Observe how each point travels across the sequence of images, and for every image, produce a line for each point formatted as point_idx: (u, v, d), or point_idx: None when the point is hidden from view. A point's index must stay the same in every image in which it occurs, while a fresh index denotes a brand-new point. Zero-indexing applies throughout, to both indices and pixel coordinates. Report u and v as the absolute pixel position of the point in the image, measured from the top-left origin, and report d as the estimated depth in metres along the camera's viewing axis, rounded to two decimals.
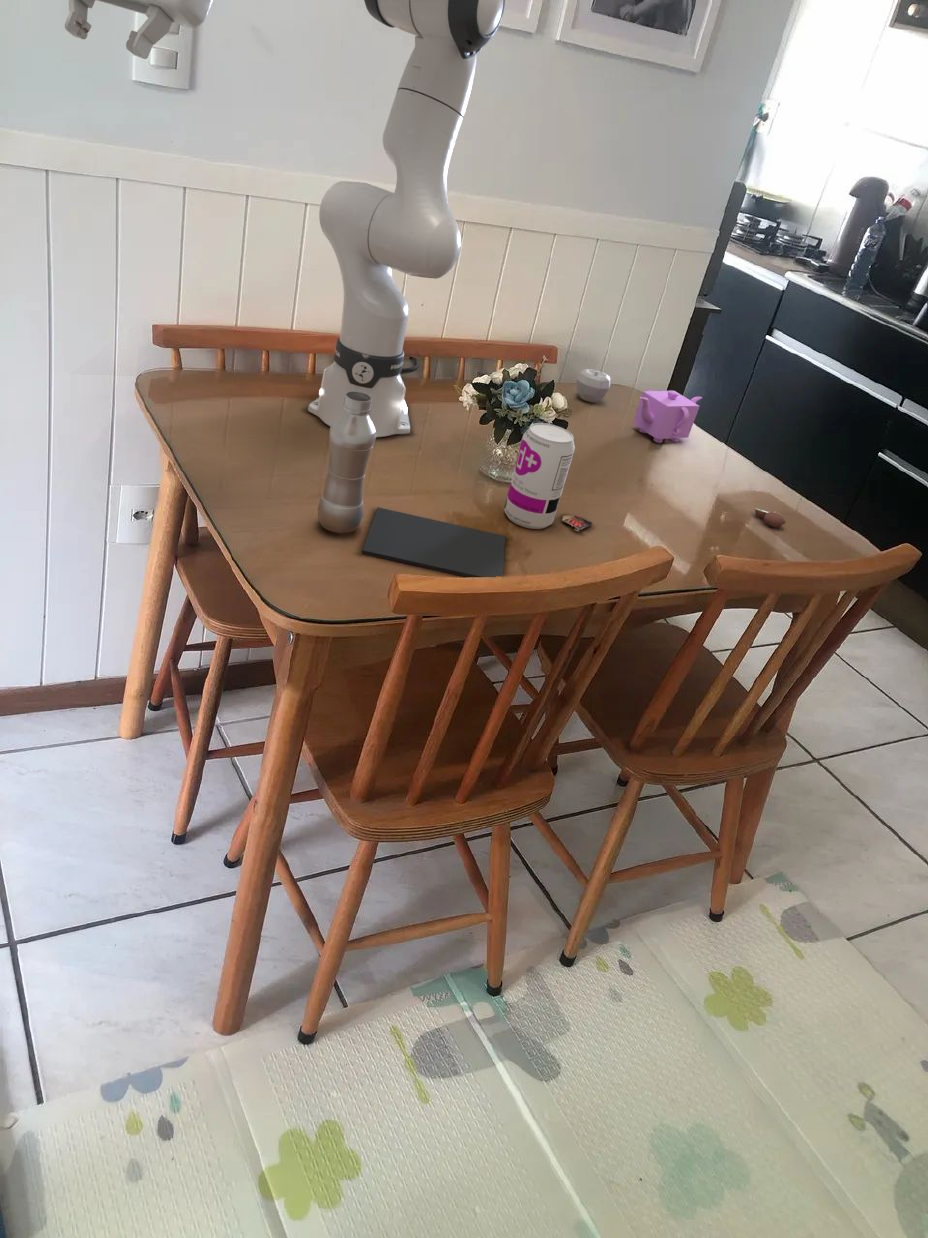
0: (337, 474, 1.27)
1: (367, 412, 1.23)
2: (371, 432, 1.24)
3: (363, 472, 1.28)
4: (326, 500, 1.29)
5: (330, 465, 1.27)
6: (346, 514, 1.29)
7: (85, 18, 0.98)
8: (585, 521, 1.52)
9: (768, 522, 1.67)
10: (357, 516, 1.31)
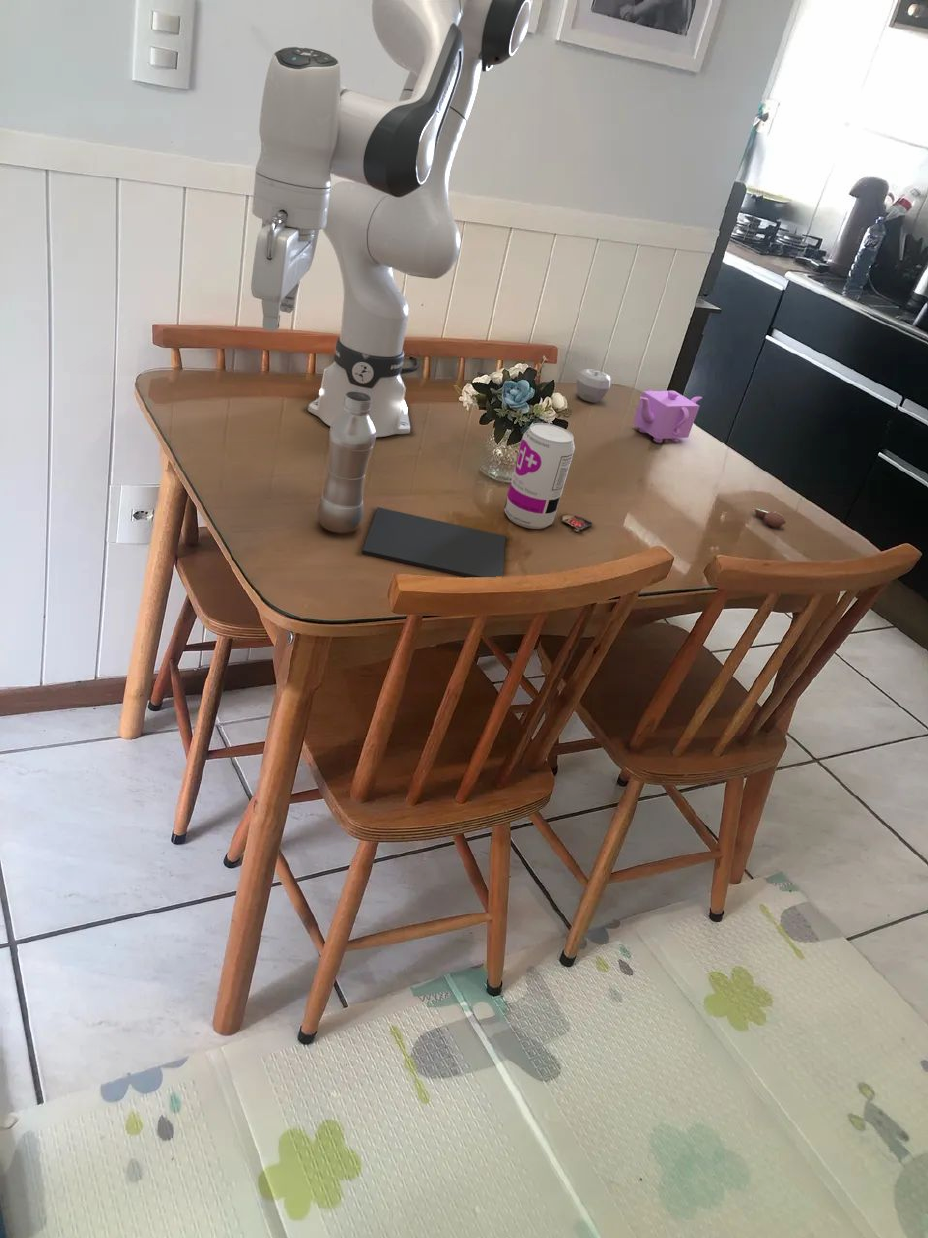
0: (337, 474, 1.27)
1: (367, 412, 1.23)
2: (371, 432, 1.24)
3: (363, 472, 1.28)
4: (326, 500, 1.29)
5: (330, 465, 1.27)
6: (346, 514, 1.29)
7: (293, 294, 1.21)
8: (585, 521, 1.52)
9: (768, 522, 1.67)
10: (357, 516, 1.31)
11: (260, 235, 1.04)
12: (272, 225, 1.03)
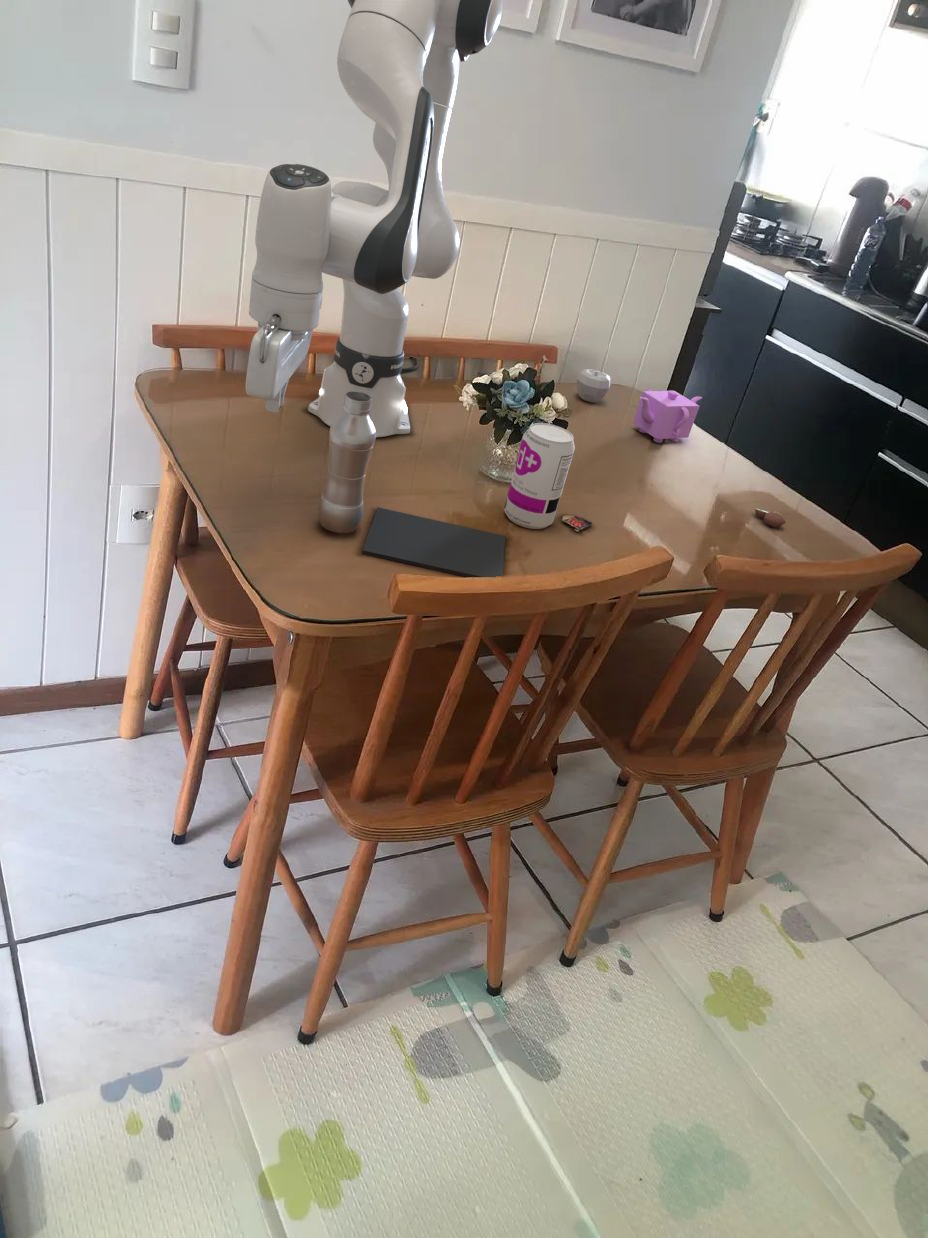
0: (337, 474, 1.27)
1: (367, 412, 1.23)
2: (371, 432, 1.24)
3: (363, 472, 1.28)
4: (326, 500, 1.29)
5: (330, 465, 1.27)
6: (346, 514, 1.29)
7: (282, 391, 1.24)
8: (585, 521, 1.52)
9: (768, 522, 1.67)
10: (357, 516, 1.31)
11: (254, 340, 1.11)
12: (265, 332, 1.09)
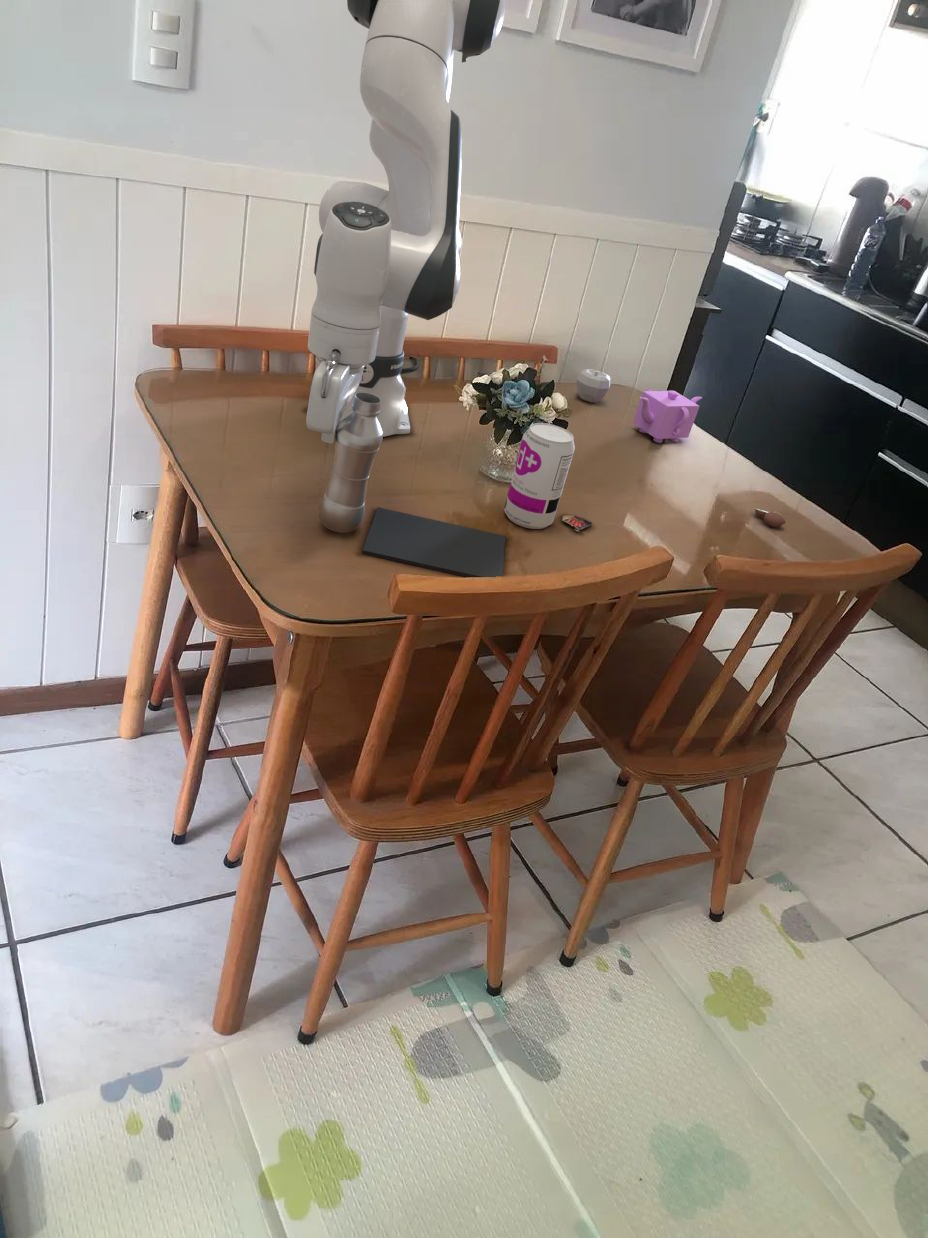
0: (342, 473, 1.26)
1: (376, 414, 1.23)
2: (378, 434, 1.24)
3: (367, 473, 1.28)
4: (328, 499, 1.29)
5: (335, 464, 1.27)
6: (347, 514, 1.29)
7: (337, 422, 1.26)
8: (585, 521, 1.52)
9: (768, 522, 1.67)
10: (358, 517, 1.31)
11: (315, 376, 1.13)
12: (327, 369, 1.11)
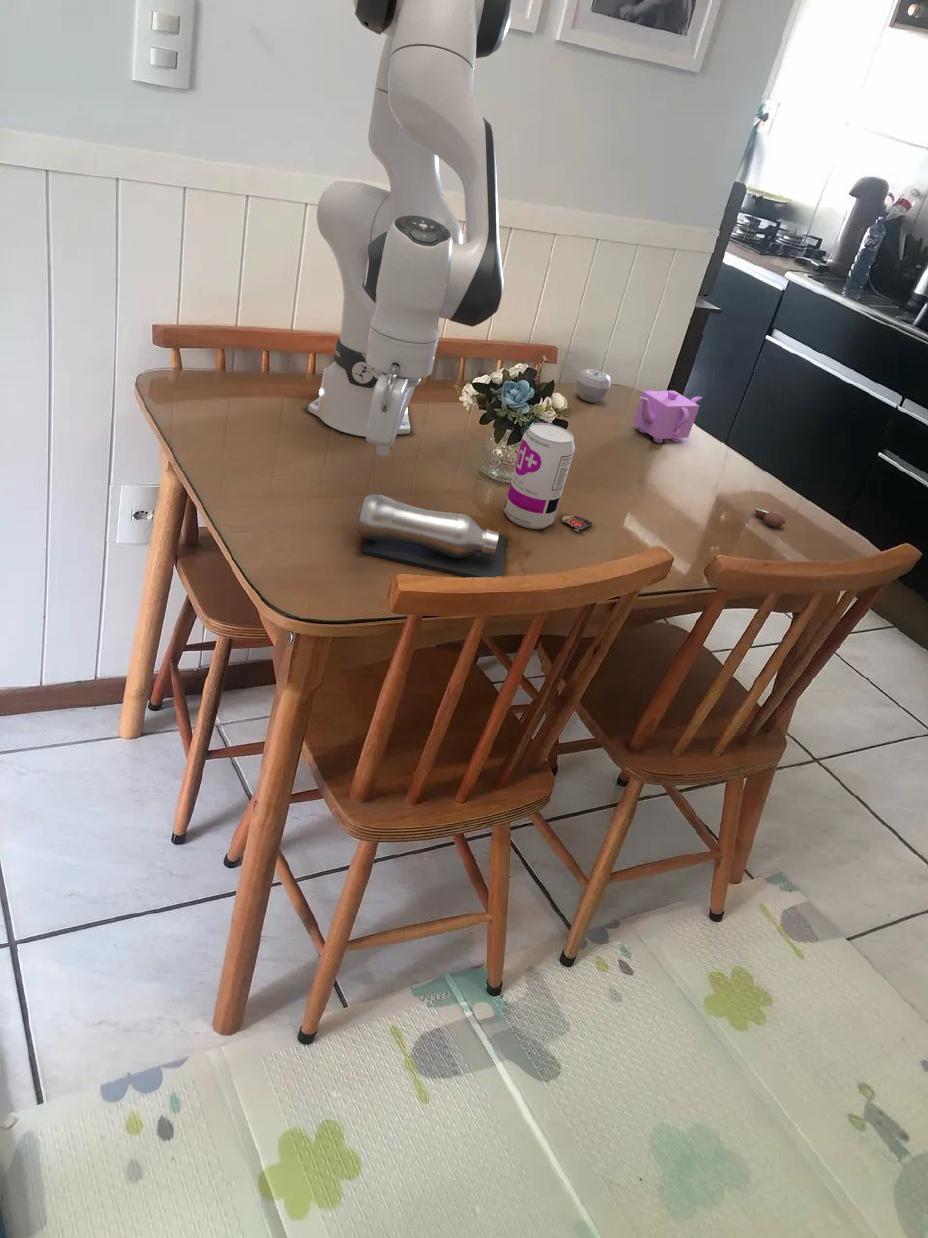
0: (420, 538, 1.29)
1: None
2: None
3: None
4: (389, 524, 1.28)
5: (427, 530, 1.28)
6: (379, 539, 1.30)
7: None
8: (585, 521, 1.52)
9: (768, 522, 1.67)
10: None
11: (376, 390, 1.13)
12: (388, 382, 1.11)
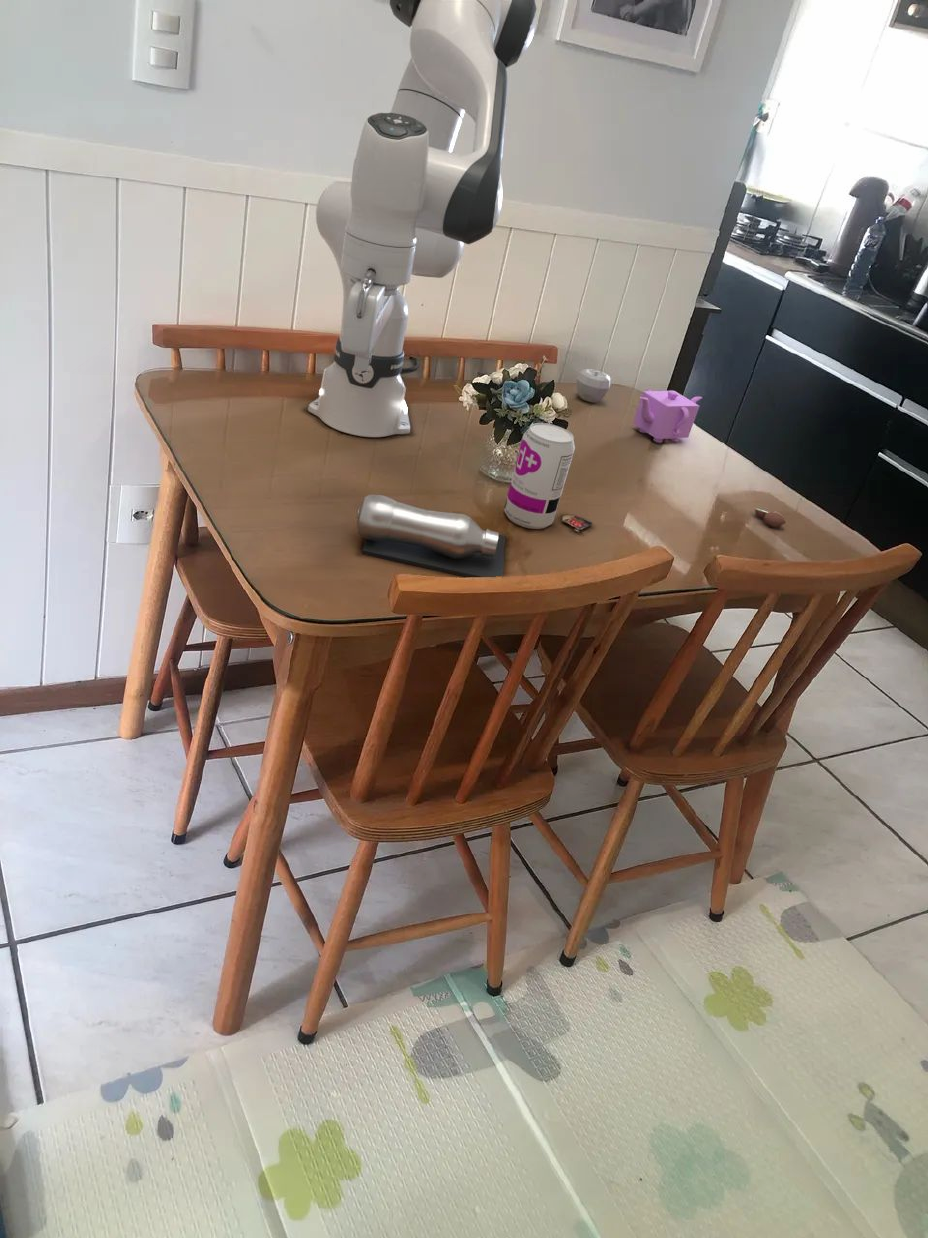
0: (420, 538, 1.29)
1: None
2: None
3: None
4: (389, 525, 1.28)
5: (426, 531, 1.28)
6: (379, 540, 1.30)
7: None
8: (585, 521, 1.52)
9: (768, 522, 1.67)
10: None
11: (351, 295, 1.09)
12: (363, 286, 1.08)
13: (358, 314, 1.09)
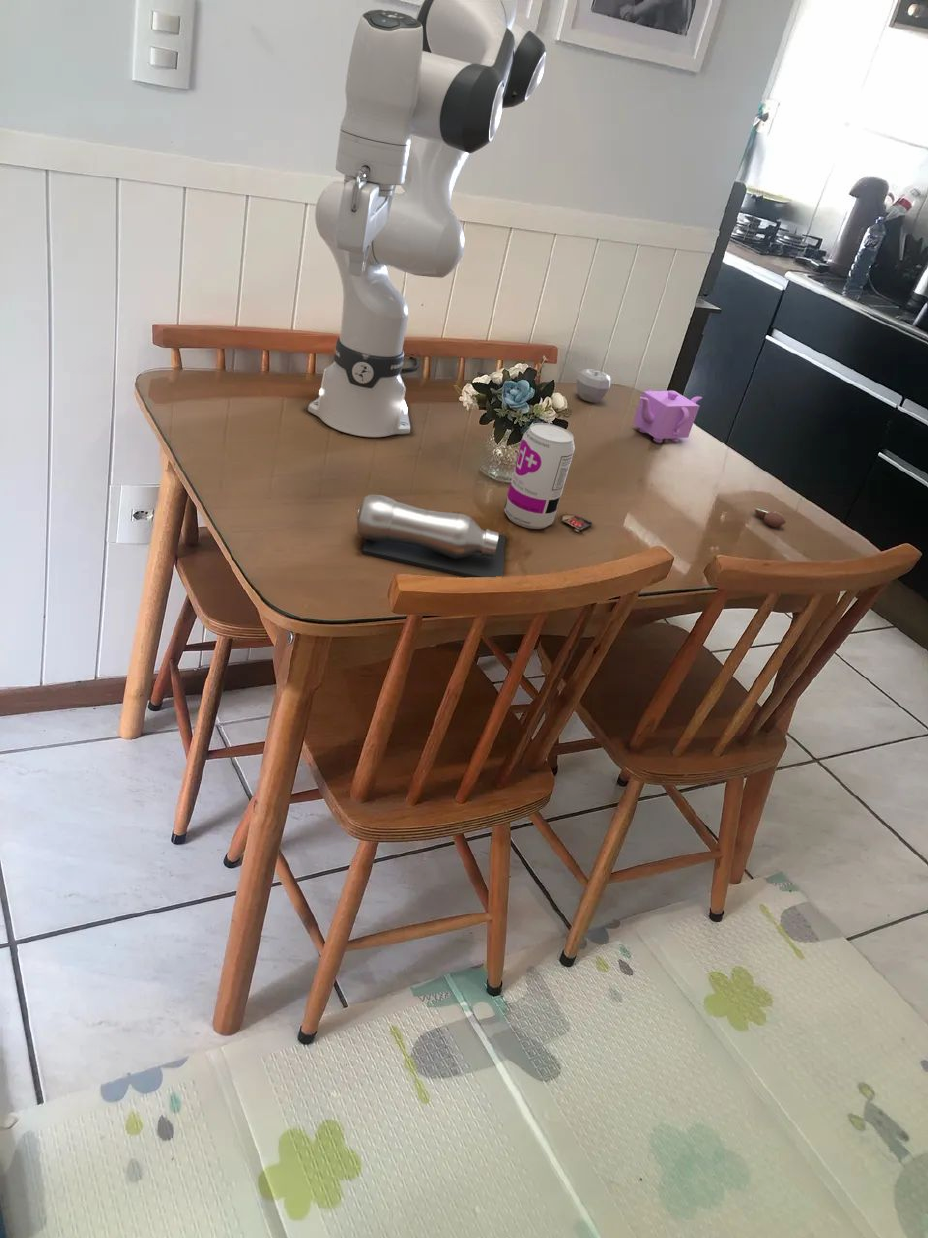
0: (420, 538, 1.29)
1: None
2: None
3: None
4: (389, 525, 1.28)
5: (426, 531, 1.28)
6: (379, 540, 1.30)
7: (364, 256, 1.24)
8: (585, 521, 1.52)
9: (768, 522, 1.67)
10: None
11: (345, 188, 1.10)
12: (357, 178, 1.09)
13: (352, 207, 1.10)
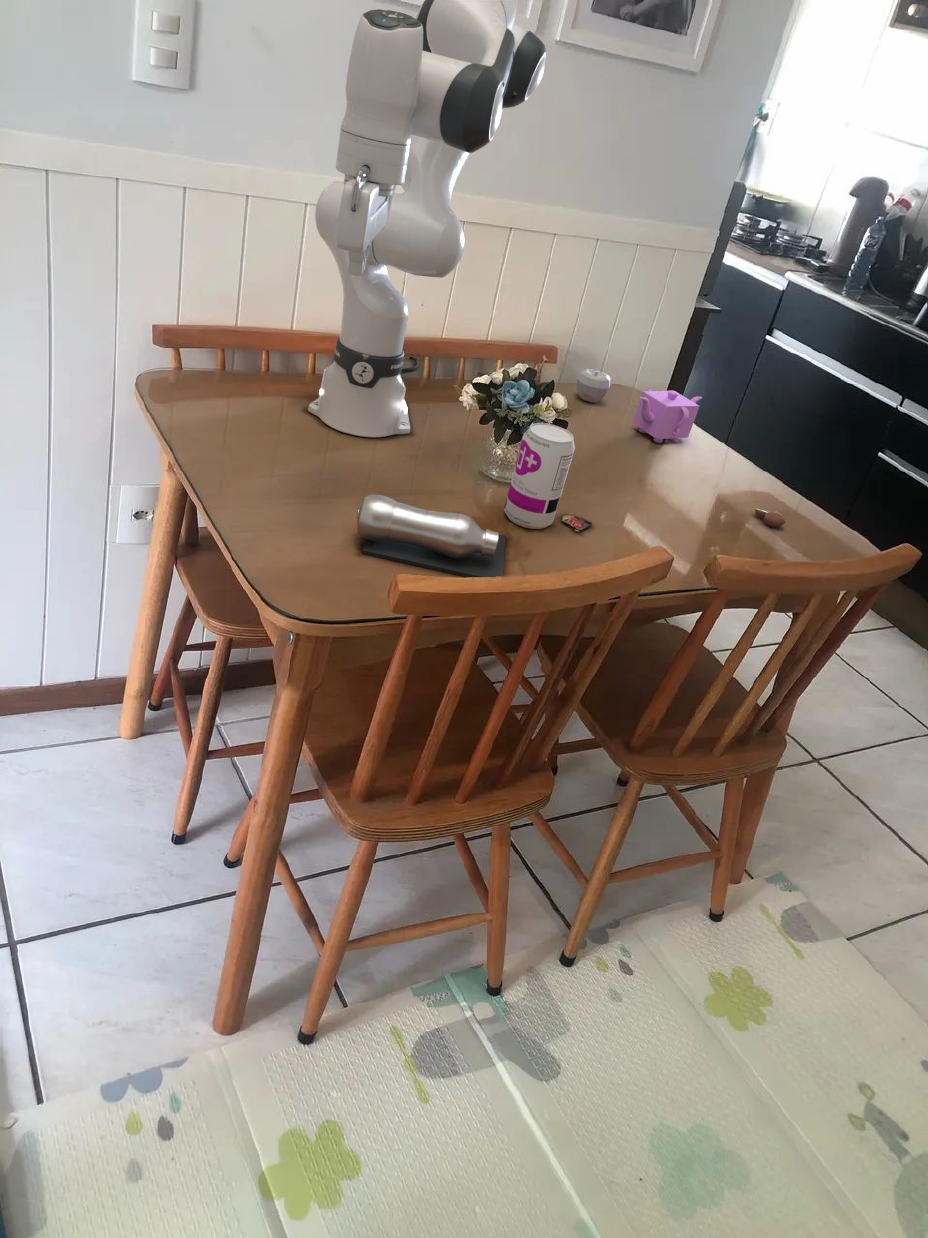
0: (420, 538, 1.29)
1: None
2: None
3: None
4: (389, 525, 1.28)
5: (426, 531, 1.28)
6: (379, 540, 1.30)
7: (364, 256, 1.24)
8: (585, 521, 1.52)
9: (768, 522, 1.67)
10: None
11: (345, 188, 1.10)
12: (358, 178, 1.09)
13: (352, 207, 1.10)
